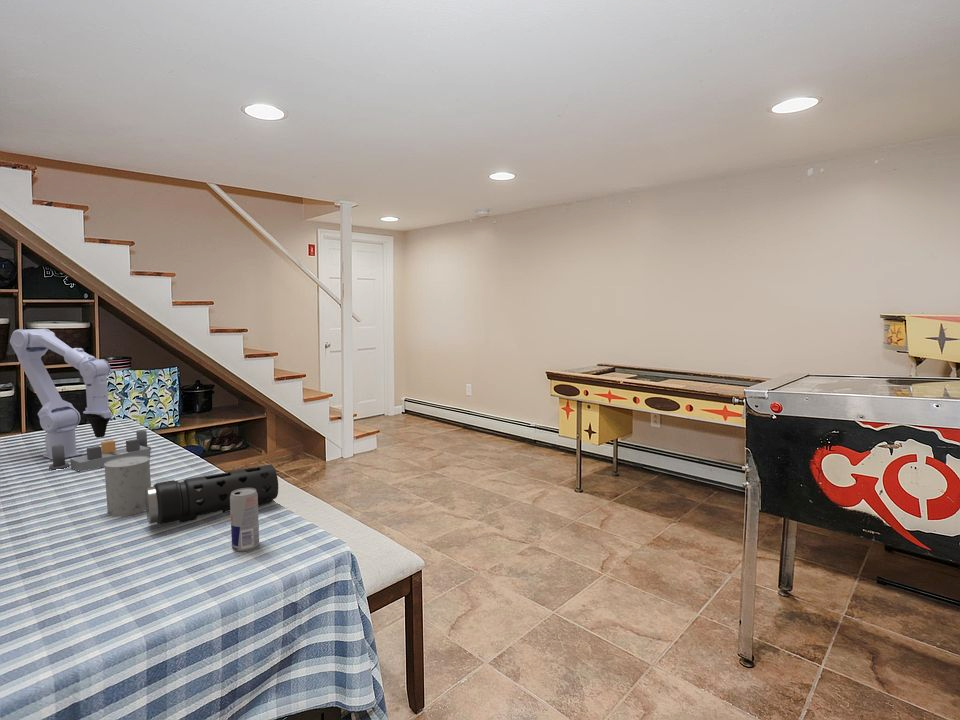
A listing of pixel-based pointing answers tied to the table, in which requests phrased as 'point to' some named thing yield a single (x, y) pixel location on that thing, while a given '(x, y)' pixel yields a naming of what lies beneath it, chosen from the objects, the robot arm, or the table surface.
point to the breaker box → (108, 455)
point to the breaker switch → (108, 446)
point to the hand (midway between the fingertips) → (100, 436)
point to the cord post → (142, 438)
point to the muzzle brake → (206, 494)
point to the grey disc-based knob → (58, 458)
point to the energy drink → (244, 519)
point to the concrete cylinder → (127, 484)
